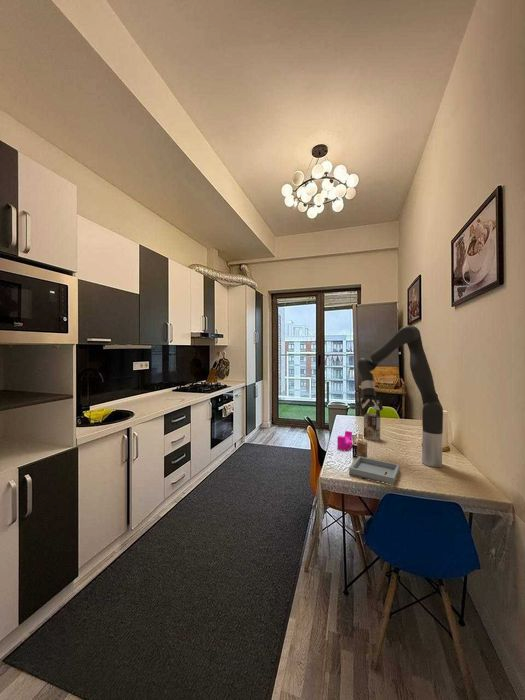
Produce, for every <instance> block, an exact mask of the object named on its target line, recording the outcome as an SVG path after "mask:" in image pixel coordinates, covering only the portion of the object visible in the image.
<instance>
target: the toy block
mask: <svg viewBox="0 0 525 700" xmlns="http://www.w3.org/2000/svg"><path fill="white" fill-rule="evenodd" d="M352 441H353V431H350V430H349V431H348V430H345V431H344V436H343V435H338V436H337V445H336V447H337V448H336V449H338V450H341V451H347V452H349V450H350V449H352V448H353V447H352ZM351 447H352V448H351Z"/></svg>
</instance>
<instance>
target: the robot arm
mask: <svg viewBox="0 0 525 700" xmlns="http://www.w3.org/2000/svg"><path fill="white" fill-rule="evenodd" d="M406 344H407V348H408V351H409V368H410V372H411V375H412V378H413V380H414V383H415V385H416V387H417V389H418V390H419V393H420V396H421V401H422V406H423V407H422V414H421V415H422V416H421V417H422V418H421V421H422V422H421V423H422V424H421V425H422V429H421V430H422V432H421V433H422V436H421V437H422V438H421V439H422V441H421V447H422V448H421V463H422V464H423V463H424V465H425V466H429V467H432V468H442V467H443V432H444V426H443V425H444V408H443V406H442V403H441V401H440V399H439V397H438V394H437V391H436V389H435V383H434V377H433V373H432V370H431V367H430V364H429V361H428V358H427V355H426V352H425V350H424V346H423V341H422V336H421V331H420V329H419V328H418V327H416V325H415V326H414V325H407V326H406V325H405V326H403V327H401V328H400V329H399V330H398V331H397V332H396V333H395V334H394V335H393V336H392V337H391V338H390V339H388V340H387V342H385V343H384V344H383V345H382V346H380V347H379V348H377V349H376V350H374V351H373V352H372V353H371V354H370V356H369V357H370V359H368V358H365V357H360V358H359V359H358V361H357V369H358V373H359V375H360V378H361V388H360V389H361V395H362V397H361V396H358V397H357V398H356V408H357V409H360V415H361V416H362V417H364V415H365V414H366V413H365V407H371V408H373V410H375V415H376V418H379V416H380V417H381V411H383V410H384V407H383V402H382V401H383V400H382V399H379V400H378V399H377V398H376V394H377V393H376V385H375V379H374V375H373V373H372V372H373V371H374V370H375V369H376V368H377V366H379V364H380V363H381V362H382V361H384V360H385V359H387V358H388V357H389V356H390V355H392V353H394V352H395V350H397V349H398V348H400V347H402V346H404V345H406ZM362 402H363V403H362Z"/></svg>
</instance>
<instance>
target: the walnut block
mask: <svg viewBox="0 0 525 700" xmlns="http://www.w3.org/2000/svg"><path fill="white" fill-rule="evenodd" d="M358 456H361V457H366V458H368V442H367V441H365V440H364V441H363V440H358V441H357V443H356V459H357V458H358Z"/></svg>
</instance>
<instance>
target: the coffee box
mask: <svg viewBox="0 0 525 700" xmlns="http://www.w3.org/2000/svg"><path fill="white" fill-rule="evenodd" d="M363 439H367V440H370V441H375V442H378V441H379V439H380V440H381V415H380V416H379V418H376V413H375V414H374V413H365V415H364V416H363ZM377 440H378V441H377Z"/></svg>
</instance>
